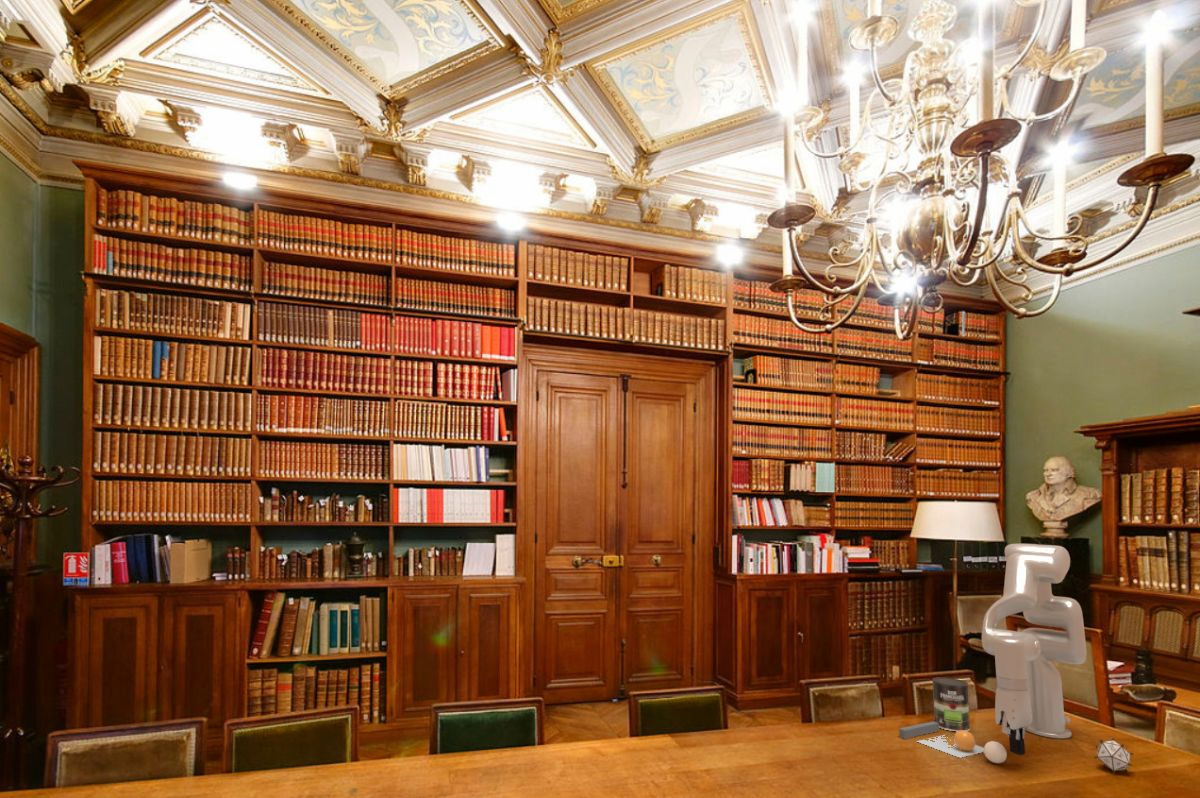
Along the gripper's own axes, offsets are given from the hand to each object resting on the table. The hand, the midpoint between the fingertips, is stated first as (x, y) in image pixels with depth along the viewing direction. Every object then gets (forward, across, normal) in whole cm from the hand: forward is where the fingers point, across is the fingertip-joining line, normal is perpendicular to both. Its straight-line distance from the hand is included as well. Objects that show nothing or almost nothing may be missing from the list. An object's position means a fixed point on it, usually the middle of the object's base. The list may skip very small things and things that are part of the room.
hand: (1017, 752), depth 182 cm
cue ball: (+1, +2, -5) cm, 6 cm away
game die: (+5, -23, +12) cm, 26 cm away
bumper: (+4, +1, -30) cm, 30 cm away
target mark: (+4, +1, -19) cm, 19 cm away
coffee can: (+5, -15, -30) cm, 34 cm away
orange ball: (+1, +1, -15) cm, 15 cm away
